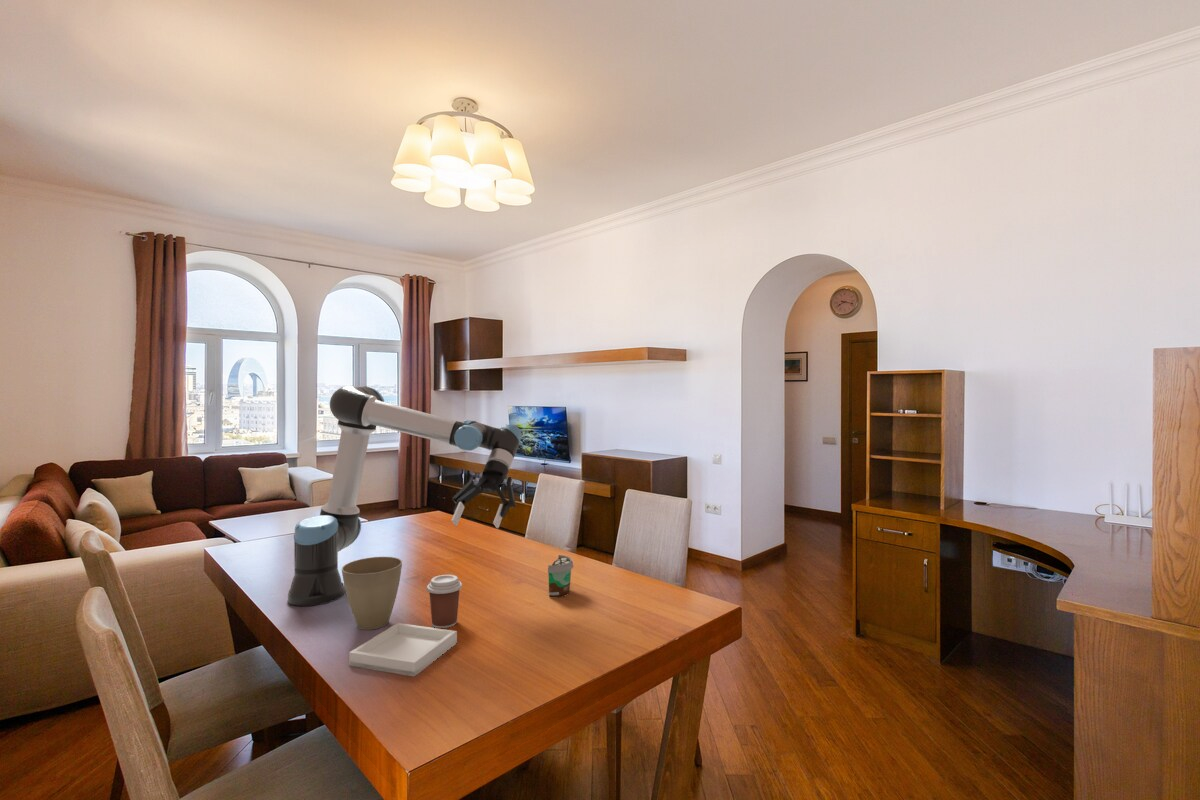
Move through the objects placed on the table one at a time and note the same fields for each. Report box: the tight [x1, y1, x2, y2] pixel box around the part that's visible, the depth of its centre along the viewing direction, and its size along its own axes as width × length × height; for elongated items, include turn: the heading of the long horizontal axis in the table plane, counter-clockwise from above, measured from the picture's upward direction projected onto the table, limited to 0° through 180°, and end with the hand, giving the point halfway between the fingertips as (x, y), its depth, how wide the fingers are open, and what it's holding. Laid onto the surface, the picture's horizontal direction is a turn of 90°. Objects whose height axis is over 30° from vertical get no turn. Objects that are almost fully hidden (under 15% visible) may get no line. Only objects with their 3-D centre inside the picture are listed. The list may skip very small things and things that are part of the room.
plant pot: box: [341, 556, 403, 631], centre depth 147 cm, size 15×15×16 cm
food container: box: [547, 554, 574, 598], centre depth 171 cm, size 12×6×10 cm, turn 168°
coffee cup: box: [426, 574, 463, 629], centre depth 148 cm, size 9×9×12 cm
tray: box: [348, 622, 458, 677], centre depth 130 cm, size 17×17×3 cm
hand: (474, 524), depth 162 cm, fingers open, 13 cm apart
